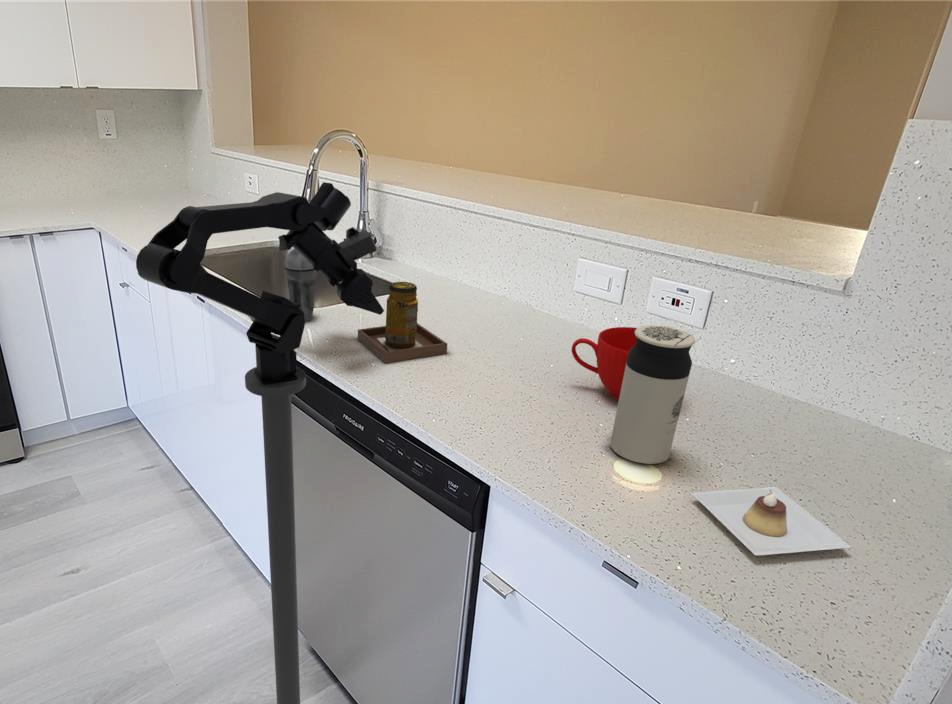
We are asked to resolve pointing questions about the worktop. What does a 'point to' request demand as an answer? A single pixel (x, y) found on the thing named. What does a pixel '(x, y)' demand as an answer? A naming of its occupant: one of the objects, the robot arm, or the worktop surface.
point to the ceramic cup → (610, 356)
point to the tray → (423, 336)
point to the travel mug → (652, 394)
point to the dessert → (769, 521)
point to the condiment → (401, 317)
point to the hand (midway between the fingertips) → (376, 304)
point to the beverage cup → (301, 282)
